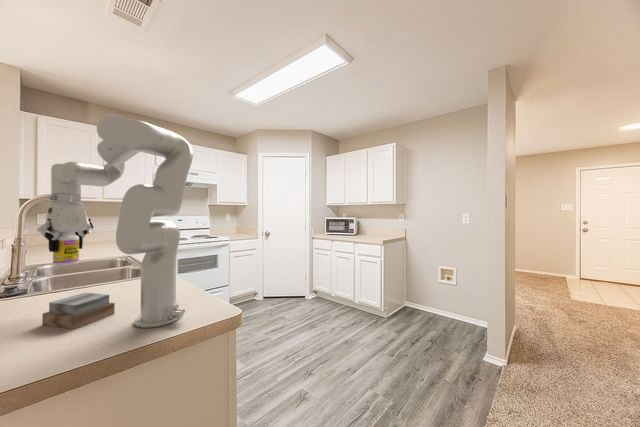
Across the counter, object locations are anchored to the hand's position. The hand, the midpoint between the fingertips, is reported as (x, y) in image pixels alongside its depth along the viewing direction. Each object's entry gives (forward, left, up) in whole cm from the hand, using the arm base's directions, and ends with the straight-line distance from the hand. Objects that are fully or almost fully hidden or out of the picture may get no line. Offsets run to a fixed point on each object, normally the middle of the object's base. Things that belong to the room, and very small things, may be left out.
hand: (66, 249), depth 93 cm
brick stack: (-16, +7, -20) cm, 27 cm away
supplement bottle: (0, 0, -5) cm, 5 cm away
